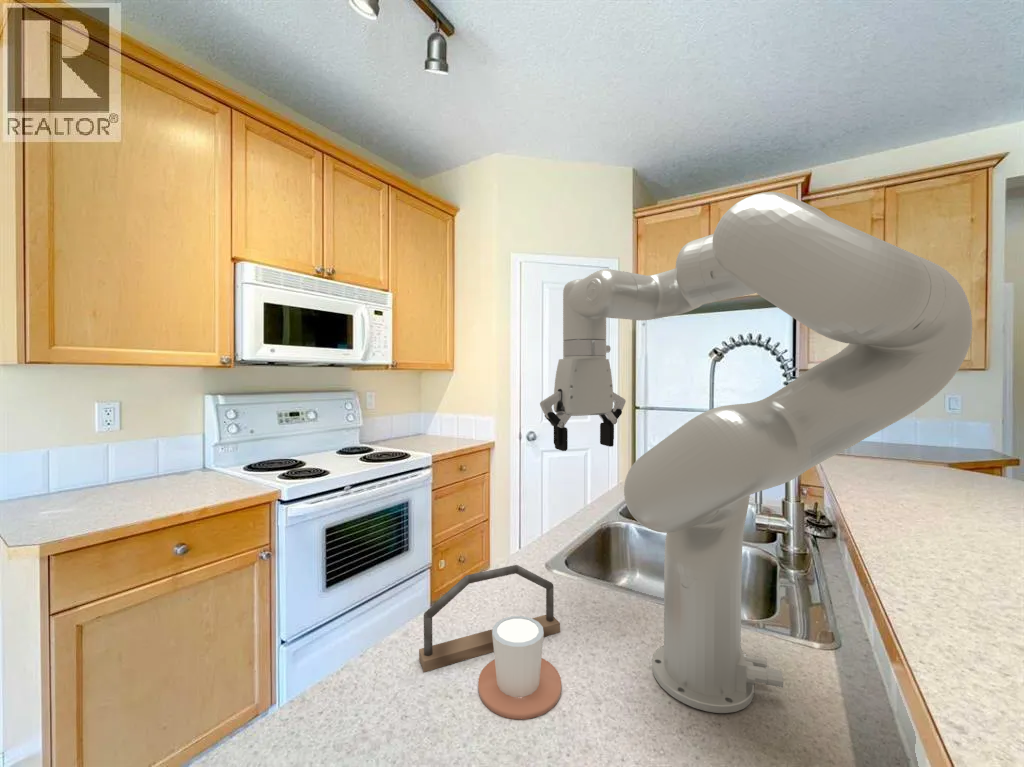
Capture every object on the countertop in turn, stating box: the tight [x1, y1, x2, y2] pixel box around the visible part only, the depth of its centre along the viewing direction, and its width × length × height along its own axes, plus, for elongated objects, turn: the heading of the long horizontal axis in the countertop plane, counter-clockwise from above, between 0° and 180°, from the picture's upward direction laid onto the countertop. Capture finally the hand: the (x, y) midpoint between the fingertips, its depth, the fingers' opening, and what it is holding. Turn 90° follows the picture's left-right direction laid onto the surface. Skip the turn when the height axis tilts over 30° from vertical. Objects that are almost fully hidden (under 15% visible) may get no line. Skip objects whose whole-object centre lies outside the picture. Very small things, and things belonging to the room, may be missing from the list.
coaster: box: [477, 657, 562, 720], centre depth 58 cm, size 11×11×1 cm
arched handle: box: [418, 564, 561, 673], centre depth 66 cm, size 22×3×12 cm, turn 115°
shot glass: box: [492, 615, 544, 697], centre depth 57 cm, size 7×7×7 cm
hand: (584, 447), depth 77 cm, fingers open, 9 cm apart
